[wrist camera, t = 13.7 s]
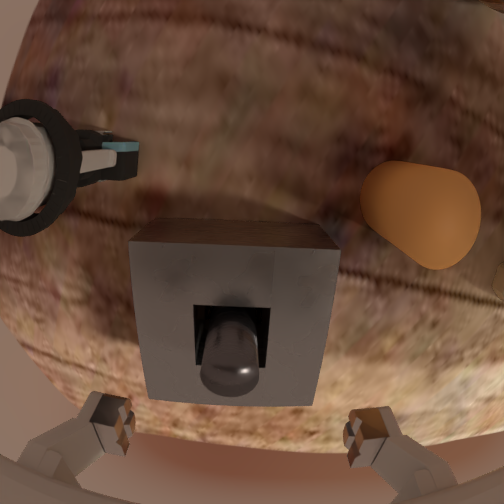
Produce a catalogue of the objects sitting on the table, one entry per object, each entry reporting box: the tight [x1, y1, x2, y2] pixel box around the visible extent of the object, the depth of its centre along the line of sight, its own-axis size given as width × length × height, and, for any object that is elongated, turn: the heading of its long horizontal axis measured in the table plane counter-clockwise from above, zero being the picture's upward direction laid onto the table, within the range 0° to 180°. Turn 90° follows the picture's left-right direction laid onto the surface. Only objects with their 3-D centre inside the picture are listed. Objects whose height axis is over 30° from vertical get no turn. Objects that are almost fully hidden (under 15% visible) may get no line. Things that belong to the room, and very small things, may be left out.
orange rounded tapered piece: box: [360, 160, 481, 270], centre depth 16 cm, size 5×5×6 cm
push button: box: [0, 99, 139, 237], centre depth 13 cm, size 7×5×10 cm
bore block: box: [128, 218, 341, 406], centre depth 19 cm, size 10×10×5 cm
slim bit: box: [200, 306, 259, 397], centre depth 17 cm, size 3×3×8 cm
